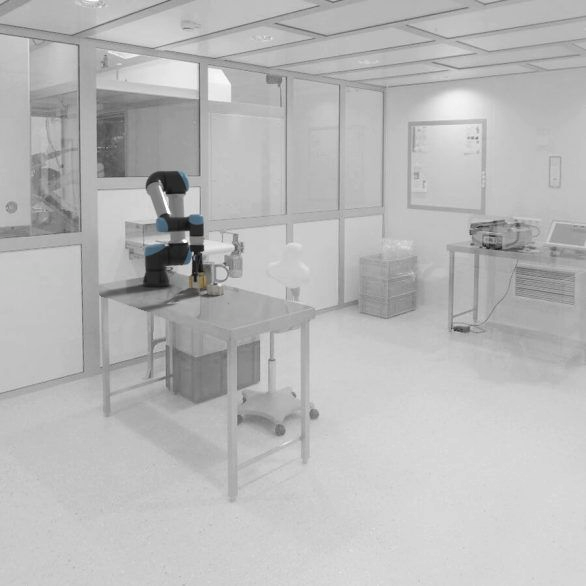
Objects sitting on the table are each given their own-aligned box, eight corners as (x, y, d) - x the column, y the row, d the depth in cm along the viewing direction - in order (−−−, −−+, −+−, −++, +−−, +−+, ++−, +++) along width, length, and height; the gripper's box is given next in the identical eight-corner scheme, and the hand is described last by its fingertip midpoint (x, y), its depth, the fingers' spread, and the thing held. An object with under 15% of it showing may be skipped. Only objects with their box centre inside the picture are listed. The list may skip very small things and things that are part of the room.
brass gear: (191, 285, 354) (191, 274, 353) (207, 285, 354) (207, 274, 352) (187, 288, 346) (187, 276, 345) (204, 288, 345) (204, 277, 344)
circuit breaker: (217, 286, 376) (216, 260, 373) (211, 291, 362) (211, 264, 359) (204, 286, 377) (203, 260, 374) (198, 291, 363) (197, 264, 360)
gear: (209, 292, 355) (208, 281, 353) (225, 292, 354) (225, 281, 353) (205, 295, 346) (205, 284, 345) (222, 295, 345) (222, 284, 344)
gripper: (199, 246, 334) (200, 290, 339) (208, 241, 355) (209, 282, 360) (184, 246, 335) (186, 290, 339) (194, 241, 356) (195, 282, 361)
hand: (198, 286), depth 350 cm, fingers closed on brass gear, 9 cm apart
